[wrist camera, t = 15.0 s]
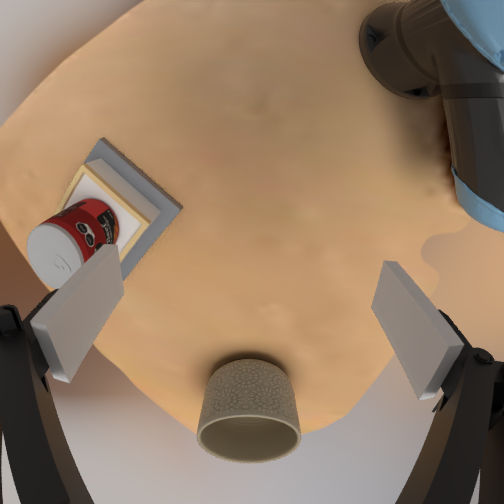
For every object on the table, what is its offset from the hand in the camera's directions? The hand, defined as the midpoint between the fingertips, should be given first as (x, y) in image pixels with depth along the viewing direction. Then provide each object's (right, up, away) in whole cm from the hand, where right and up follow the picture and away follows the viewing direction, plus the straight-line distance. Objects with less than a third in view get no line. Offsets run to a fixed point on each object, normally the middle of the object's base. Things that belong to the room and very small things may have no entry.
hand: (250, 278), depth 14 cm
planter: (0, -23, +42) cm, 48 cm away
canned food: (-21, +5, +23) cm, 31 cm away
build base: (-21, +7, +28) cm, 36 cm away
